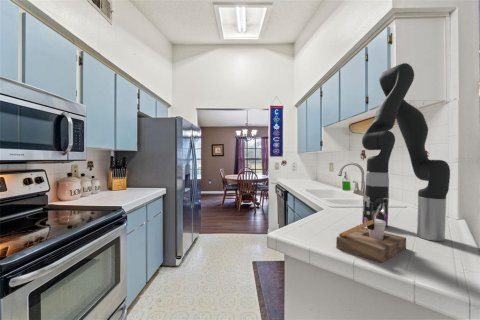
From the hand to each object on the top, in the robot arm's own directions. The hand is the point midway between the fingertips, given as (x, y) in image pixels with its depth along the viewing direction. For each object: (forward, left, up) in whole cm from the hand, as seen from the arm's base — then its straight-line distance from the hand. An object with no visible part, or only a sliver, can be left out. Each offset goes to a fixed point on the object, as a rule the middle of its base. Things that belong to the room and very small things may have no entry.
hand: (375, 227), depth 87 cm
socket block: (+3, 0, -7) cm, 8 cm away
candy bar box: (-33, -14, -7) cm, 37 cm away
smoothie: (0, 0, -7) cm, 7 cm away
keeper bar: (+11, -1, 0) cm, 12 cm away
